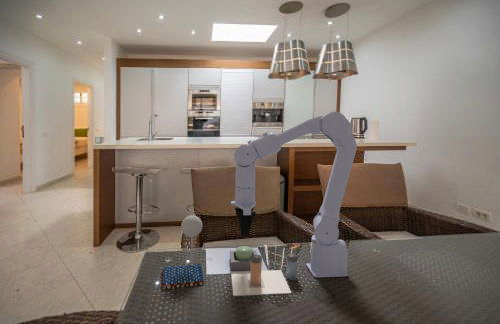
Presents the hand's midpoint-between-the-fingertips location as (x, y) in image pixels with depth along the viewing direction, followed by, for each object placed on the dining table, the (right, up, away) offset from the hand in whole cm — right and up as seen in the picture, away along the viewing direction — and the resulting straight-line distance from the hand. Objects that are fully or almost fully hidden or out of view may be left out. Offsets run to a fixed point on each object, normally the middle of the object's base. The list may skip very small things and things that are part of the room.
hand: (244, 233), depth 86 cm
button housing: (0, -9, +1) cm, 9 cm away
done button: (0, -8, +1) cm, 8 cm away
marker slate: (+13, -10, -7) cm, 18 cm away
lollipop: (-15, -10, -2) cm, 18 cm away
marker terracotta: (+3, -10, -11) cm, 15 cm away
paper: (+4, -10, -10) cm, 15 cm away
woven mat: (-16, -11, -8) cm, 21 cm away
